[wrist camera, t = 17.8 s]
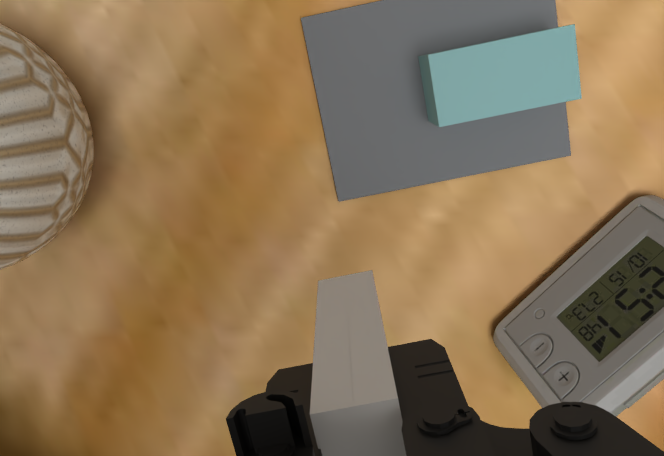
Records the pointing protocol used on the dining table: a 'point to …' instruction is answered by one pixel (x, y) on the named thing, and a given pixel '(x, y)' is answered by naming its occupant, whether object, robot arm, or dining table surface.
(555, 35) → the block
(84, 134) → the vase
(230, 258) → the dining table surface
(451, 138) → the mat
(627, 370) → the digital clock
